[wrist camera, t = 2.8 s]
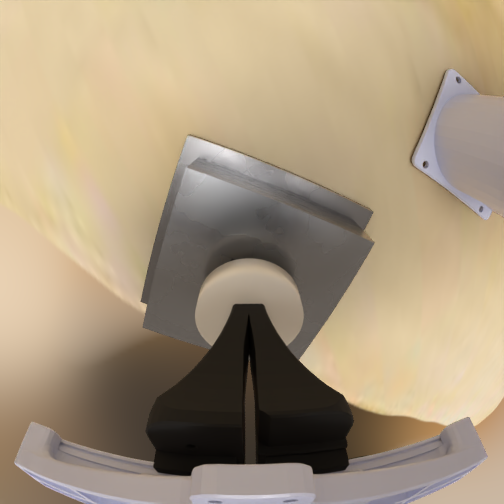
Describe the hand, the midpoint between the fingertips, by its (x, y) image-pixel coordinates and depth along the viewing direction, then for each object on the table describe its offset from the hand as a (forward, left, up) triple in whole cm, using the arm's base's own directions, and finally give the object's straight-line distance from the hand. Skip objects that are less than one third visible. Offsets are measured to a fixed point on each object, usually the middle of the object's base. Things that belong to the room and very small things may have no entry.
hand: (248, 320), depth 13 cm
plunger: (0, 0, -5) cm, 5 cm away
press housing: (0, 0, -6) cm, 6 cm away
